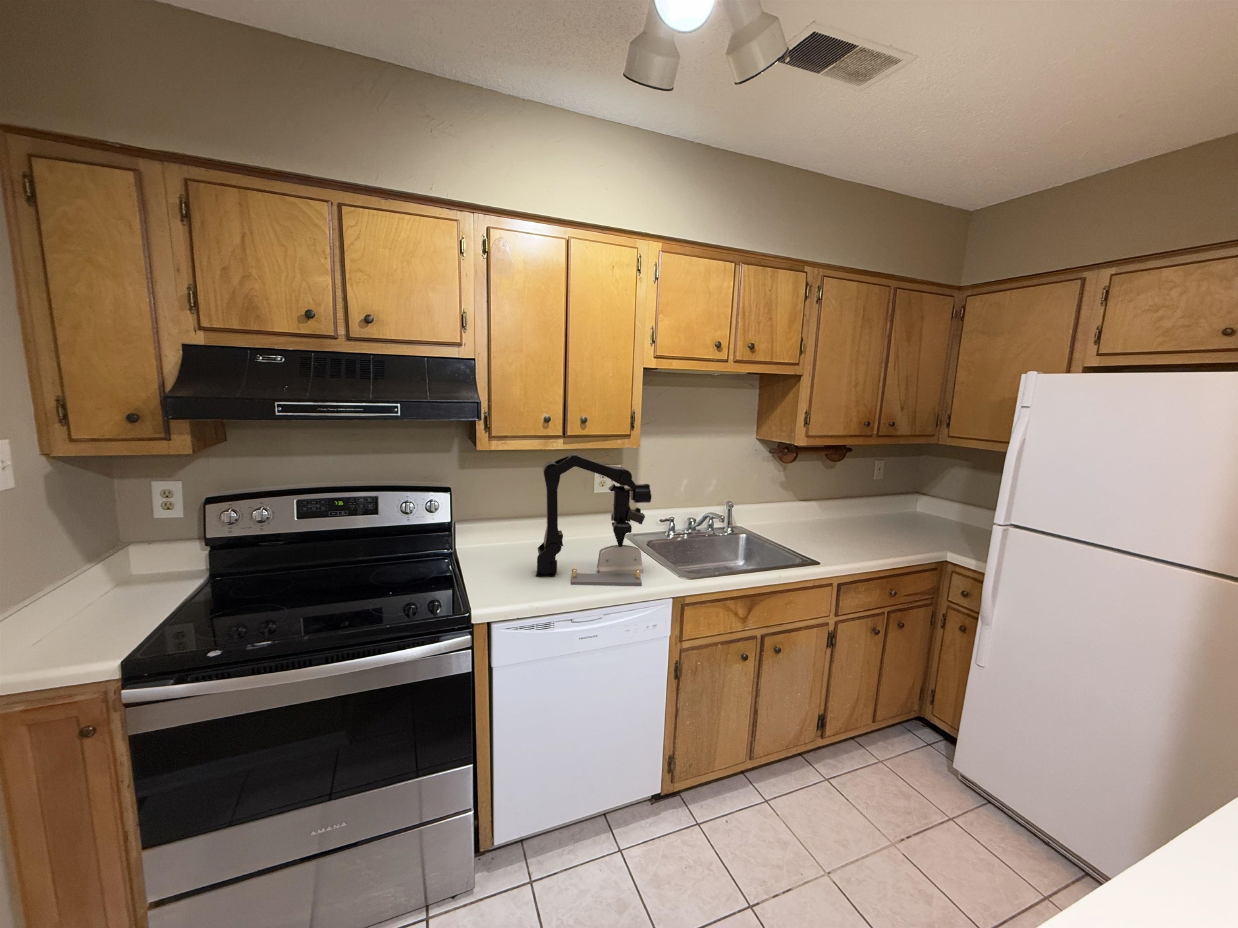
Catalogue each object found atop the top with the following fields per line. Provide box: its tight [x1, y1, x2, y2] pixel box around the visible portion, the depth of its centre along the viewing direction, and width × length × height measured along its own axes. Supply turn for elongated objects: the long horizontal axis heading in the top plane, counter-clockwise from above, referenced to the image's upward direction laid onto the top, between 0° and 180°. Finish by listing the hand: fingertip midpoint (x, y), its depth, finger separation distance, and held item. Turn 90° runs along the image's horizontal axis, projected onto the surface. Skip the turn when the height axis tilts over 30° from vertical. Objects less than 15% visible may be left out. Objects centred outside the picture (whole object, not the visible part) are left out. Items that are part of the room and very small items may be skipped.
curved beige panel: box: [596, 544, 644, 575], centre depth 182 cm, size 17×5×10 cm, turn 103°
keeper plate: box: [570, 568, 643, 587], centre depth 173 cm, size 24×8×4 cm, turn 94°
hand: (620, 544), depth 182 cm, fingers open, 4 cm apart
